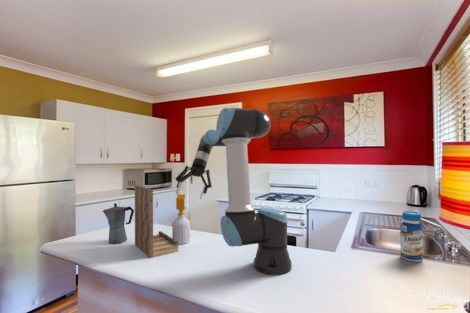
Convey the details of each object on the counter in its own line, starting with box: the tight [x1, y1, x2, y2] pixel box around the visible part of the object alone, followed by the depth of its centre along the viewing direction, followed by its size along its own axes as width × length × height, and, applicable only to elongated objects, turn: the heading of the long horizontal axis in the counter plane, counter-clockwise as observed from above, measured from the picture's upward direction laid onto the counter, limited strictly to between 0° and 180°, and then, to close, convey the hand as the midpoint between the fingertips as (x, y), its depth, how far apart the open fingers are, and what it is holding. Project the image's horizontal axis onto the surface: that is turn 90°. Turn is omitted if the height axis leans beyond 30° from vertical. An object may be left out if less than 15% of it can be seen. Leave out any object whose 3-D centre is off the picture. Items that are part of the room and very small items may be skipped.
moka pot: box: [102, 203, 135, 245], centre depth 141 cm, size 10×15×20 cm, turn 107°
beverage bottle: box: [399, 210, 424, 263], centre depth 116 cm, size 8×8×20 cm
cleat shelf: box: [134, 184, 179, 259], centre depth 130 cm, size 22×14×30 cm, turn 37°
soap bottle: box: [171, 193, 191, 245], centre depth 140 cm, size 9×9×25 cm
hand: (189, 196), depth 141 cm, fingers open, 13 cm apart
